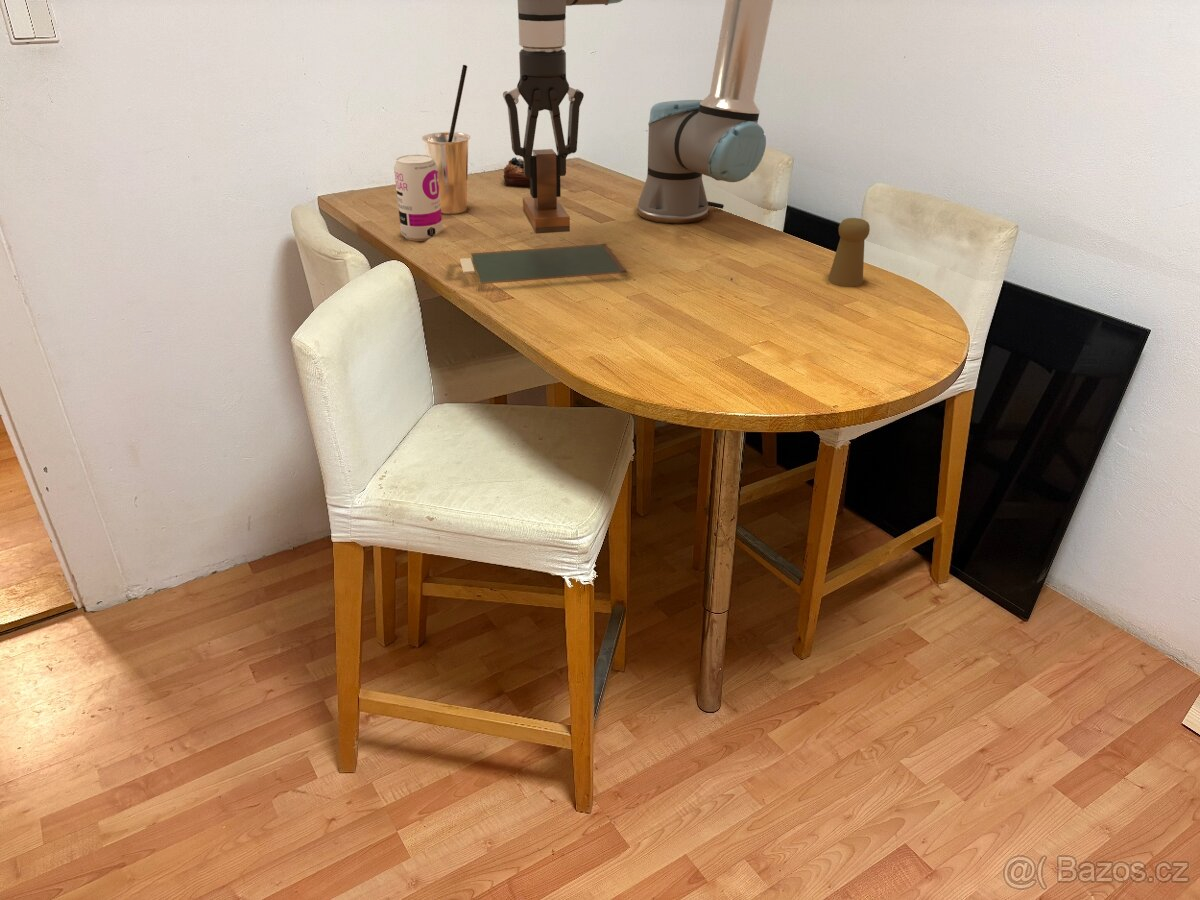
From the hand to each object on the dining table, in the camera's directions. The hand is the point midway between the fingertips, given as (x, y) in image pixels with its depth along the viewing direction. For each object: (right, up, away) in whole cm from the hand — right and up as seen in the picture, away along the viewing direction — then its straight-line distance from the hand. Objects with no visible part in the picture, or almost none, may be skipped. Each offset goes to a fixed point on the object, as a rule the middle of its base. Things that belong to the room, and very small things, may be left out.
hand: (545, 195), depth 151 cm
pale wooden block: (-14, -12, +5) cm, 19 cm away
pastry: (-8, +20, +58) cm, 62 cm away
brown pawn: (+53, -14, +4) cm, 55 cm away
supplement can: (-26, -2, +23) cm, 35 cm away
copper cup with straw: (-22, +8, +38) cm, 44 cm away
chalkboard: (0, -11, +7) cm, 13 cm away
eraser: (0, -4, +3) cm, 5 cm away
